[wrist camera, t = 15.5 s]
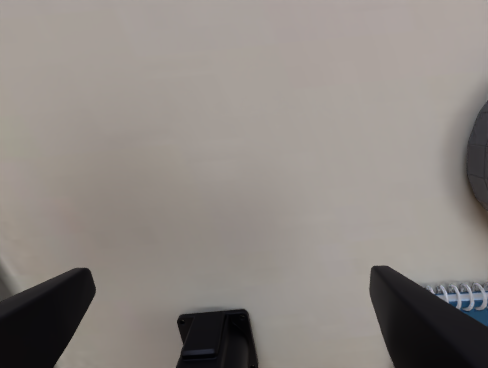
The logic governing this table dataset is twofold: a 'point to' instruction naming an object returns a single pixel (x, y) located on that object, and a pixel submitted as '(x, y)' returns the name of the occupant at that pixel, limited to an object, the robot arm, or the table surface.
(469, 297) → the sketchbook
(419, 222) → the table surface
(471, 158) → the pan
